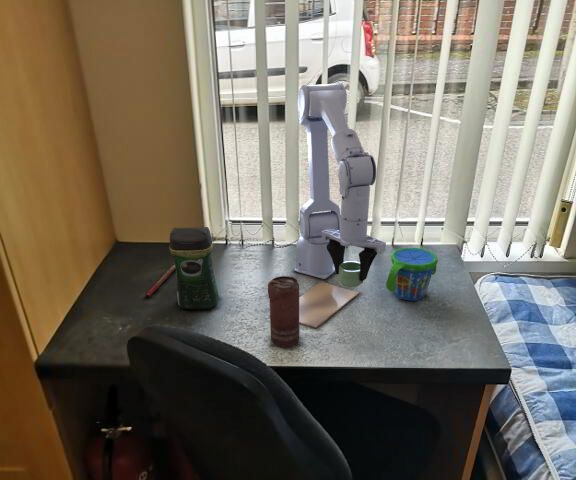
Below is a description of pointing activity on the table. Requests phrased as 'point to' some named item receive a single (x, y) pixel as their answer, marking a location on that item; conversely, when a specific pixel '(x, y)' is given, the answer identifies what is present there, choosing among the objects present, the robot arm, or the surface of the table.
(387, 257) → the table surface
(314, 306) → the mat
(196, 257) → the coffee jar
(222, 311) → the table surface
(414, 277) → the snack cup
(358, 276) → the bowl
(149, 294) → the pencil
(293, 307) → the can
